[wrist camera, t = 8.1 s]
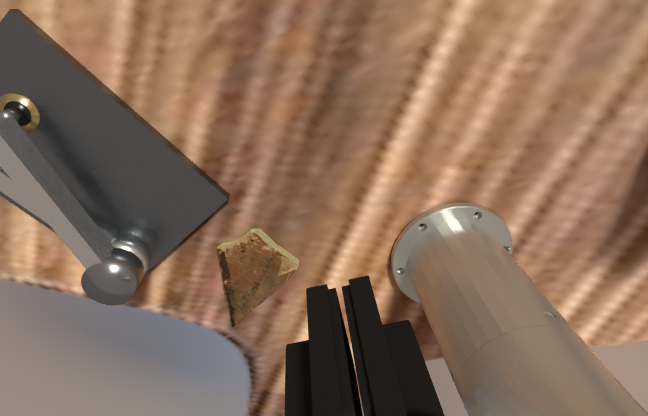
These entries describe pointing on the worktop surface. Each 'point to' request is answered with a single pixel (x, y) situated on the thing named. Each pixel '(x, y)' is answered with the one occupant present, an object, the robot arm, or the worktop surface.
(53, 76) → the divider base plate
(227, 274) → the shard
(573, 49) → the worktop surface
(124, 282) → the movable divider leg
